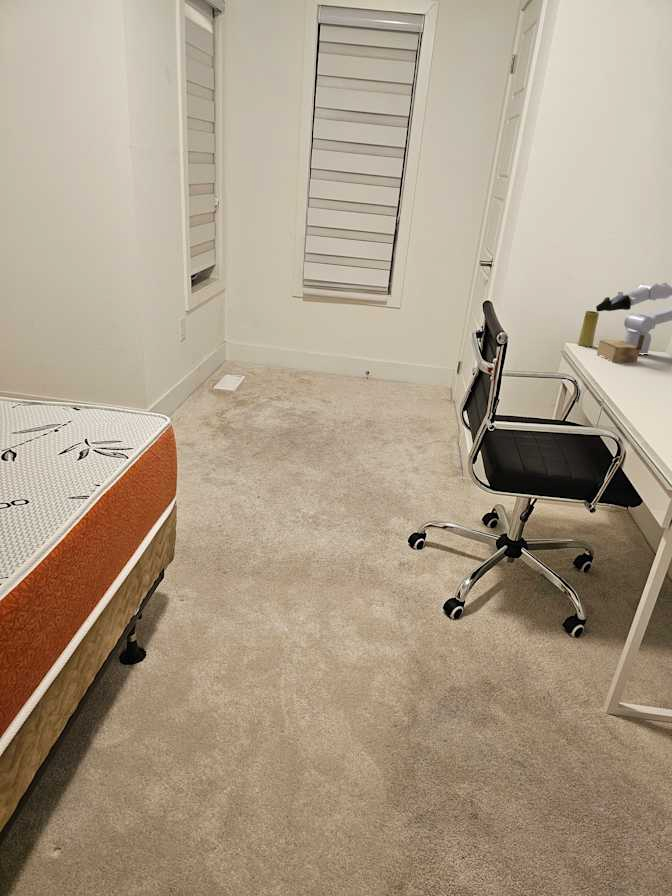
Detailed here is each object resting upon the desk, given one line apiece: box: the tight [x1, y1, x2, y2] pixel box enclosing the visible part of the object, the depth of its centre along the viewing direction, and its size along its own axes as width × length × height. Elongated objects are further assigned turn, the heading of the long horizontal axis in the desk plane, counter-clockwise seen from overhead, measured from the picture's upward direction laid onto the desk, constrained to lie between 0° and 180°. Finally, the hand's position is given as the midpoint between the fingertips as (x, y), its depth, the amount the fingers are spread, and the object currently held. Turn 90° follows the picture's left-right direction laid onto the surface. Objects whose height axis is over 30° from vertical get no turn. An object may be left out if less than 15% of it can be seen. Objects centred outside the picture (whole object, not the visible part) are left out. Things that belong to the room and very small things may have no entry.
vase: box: [577, 310, 600, 347], centre depth 259 cm, size 6×6×14 cm
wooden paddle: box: [612, 335, 645, 363], centre depth 234 cm, size 10×2×11 cm, turn 99°
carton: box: [596, 339, 637, 362], centre depth 241 cm, size 10×11×6 cm
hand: (604, 308), depth 238 cm, fingers open, 7 cm apart
